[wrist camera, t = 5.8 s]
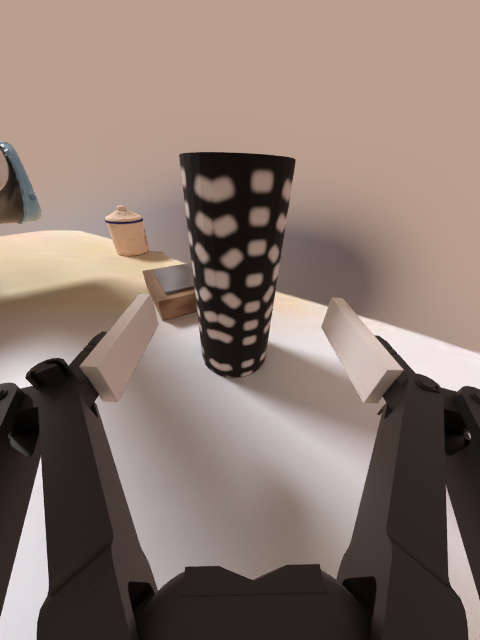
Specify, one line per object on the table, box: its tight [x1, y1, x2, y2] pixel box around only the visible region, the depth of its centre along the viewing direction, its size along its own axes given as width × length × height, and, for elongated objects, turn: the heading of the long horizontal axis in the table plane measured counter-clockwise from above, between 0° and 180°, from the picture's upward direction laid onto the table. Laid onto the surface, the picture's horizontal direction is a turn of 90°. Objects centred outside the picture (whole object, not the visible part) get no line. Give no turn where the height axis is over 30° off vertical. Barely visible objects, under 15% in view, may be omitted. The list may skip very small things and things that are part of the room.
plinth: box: [143, 263, 197, 320], centre depth 37 cm, size 13×13×4 cm
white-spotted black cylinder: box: [179, 152, 295, 377], centre depth 20 cm, size 8×8×20 cm
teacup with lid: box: [105, 206, 149, 256], centre depth 55 cm, size 12×9×12 cm
